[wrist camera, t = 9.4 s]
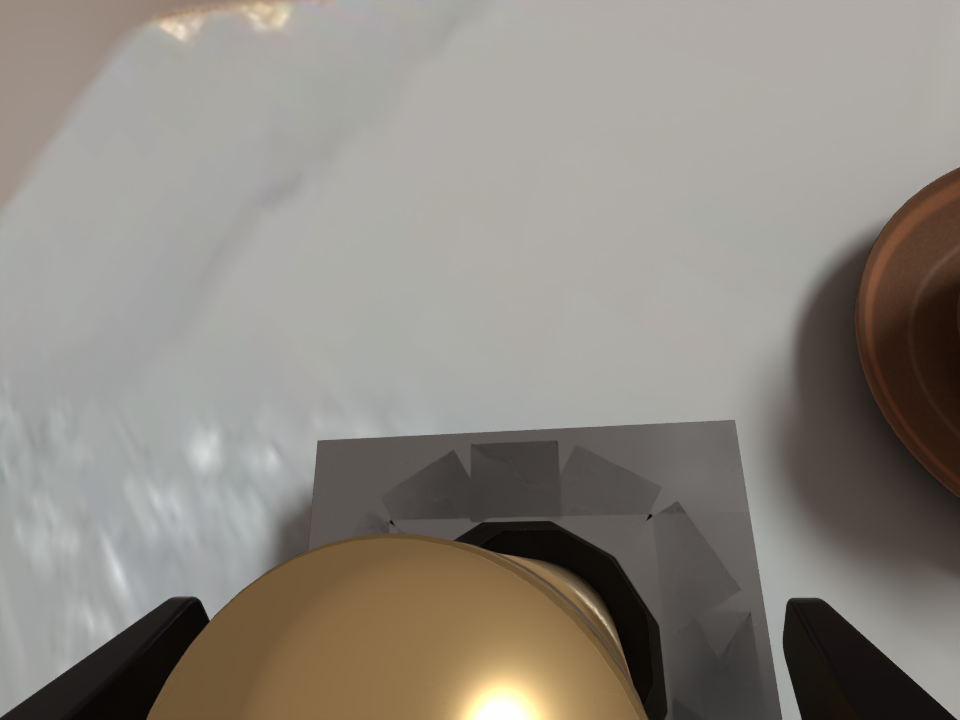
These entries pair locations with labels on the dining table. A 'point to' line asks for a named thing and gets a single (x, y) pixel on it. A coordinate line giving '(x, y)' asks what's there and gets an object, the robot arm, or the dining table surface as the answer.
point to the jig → (591, 532)
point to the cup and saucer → (917, 326)
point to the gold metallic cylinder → (406, 641)
